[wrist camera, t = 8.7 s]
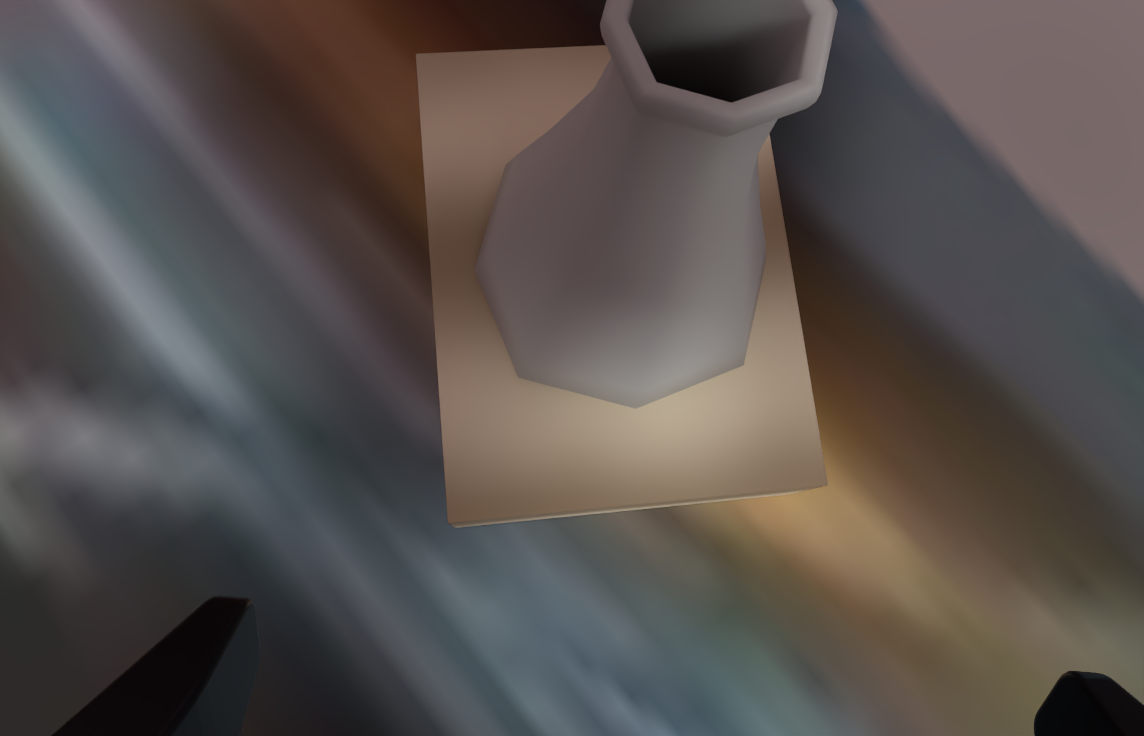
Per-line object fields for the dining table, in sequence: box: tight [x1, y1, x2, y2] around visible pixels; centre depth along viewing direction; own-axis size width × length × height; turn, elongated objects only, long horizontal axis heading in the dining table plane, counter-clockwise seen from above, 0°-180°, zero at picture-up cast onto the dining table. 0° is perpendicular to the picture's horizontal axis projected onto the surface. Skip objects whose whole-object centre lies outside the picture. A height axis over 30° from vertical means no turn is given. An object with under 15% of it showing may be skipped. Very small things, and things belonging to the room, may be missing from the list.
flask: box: [474, 0, 838, 409], centre depth 16 cm, size 7×7×10 cm
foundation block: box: [416, 45, 828, 528], centre depth 22 cm, size 12×9×3 cm
